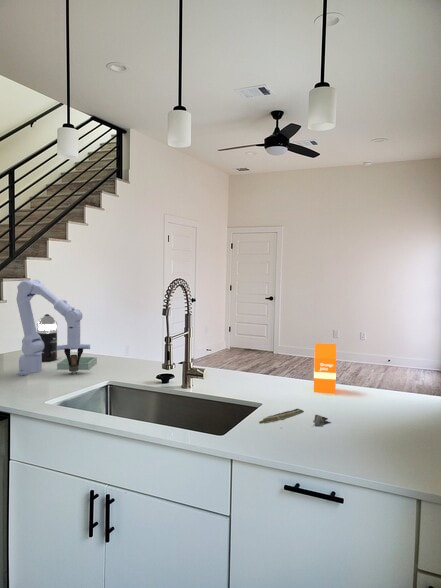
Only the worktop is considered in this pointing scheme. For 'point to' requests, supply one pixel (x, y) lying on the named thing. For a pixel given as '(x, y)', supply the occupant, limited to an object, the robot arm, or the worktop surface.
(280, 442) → the worktop surface
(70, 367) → the strut
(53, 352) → the spray bottle
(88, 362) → the bin
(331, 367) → the orange juice
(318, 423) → the dried leaves
